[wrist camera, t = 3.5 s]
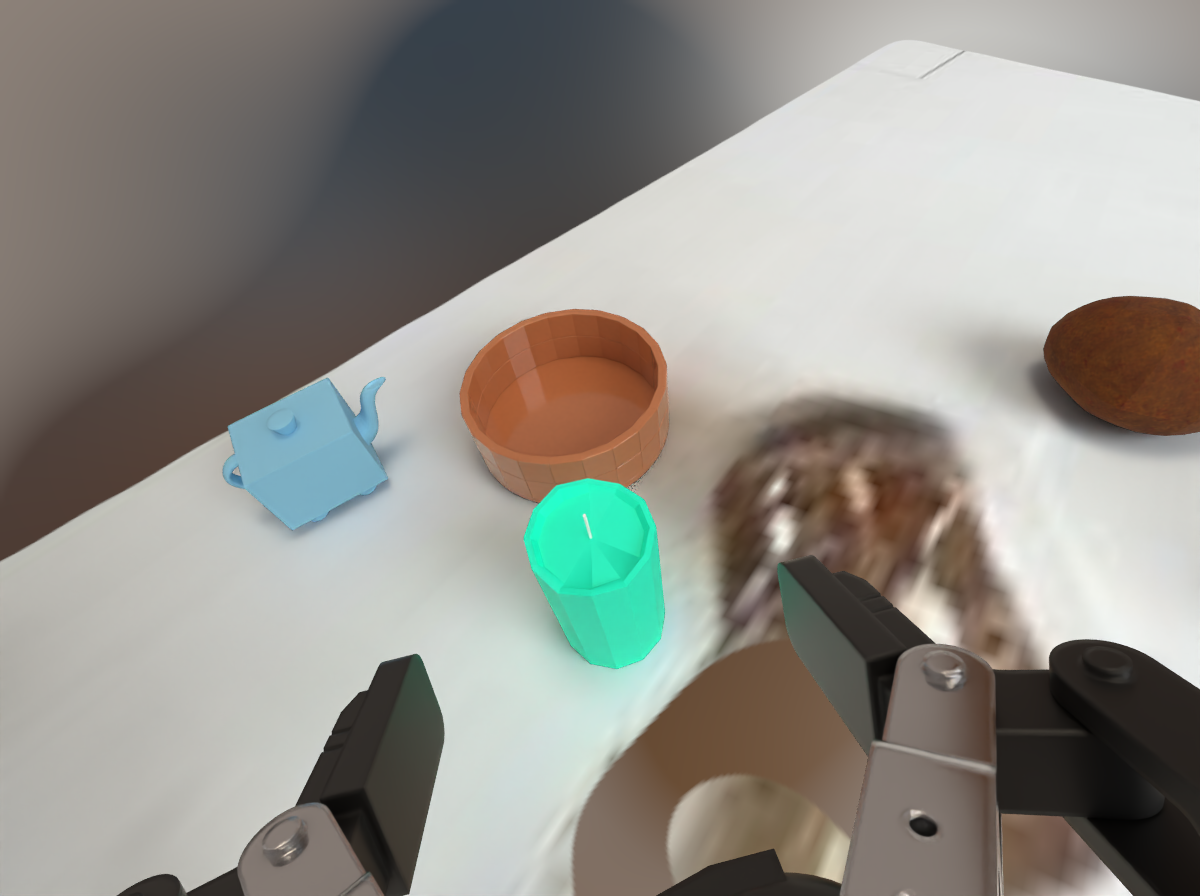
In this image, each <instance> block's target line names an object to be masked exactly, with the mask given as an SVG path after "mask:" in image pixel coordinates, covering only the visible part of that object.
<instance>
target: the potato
mask: <svg viewBox="0 0 1200 896" xmlns="http://www.w3.org/2000/svg"><path fill="white" fill-rule="evenodd" d="M1044 359H1045V361H1046V364H1047V367H1048V370H1049V372H1050V373H1051V375H1052V376H1053V378H1054V379H1055V380H1056V381H1057V382H1058V384H1059V385H1060V386H1061V387H1062V388H1063V389H1064V390H1065V391H1066V392H1067V393H1068V395H1069V396H1070V397H1071V398H1072V399H1073V400H1074V401H1075V402H1076V403H1078V404H1079V405H1080V406H1081V407H1082V408H1083V409H1084V410H1085V411H1087V412H1088V413H1090V414H1092V415H1094V416H1096V417H1098V418H1100V419H1102V420H1105V421H1107V422H1109V423H1112V424H1114V425H1116V426H1119V427H1122V428H1125V429H1128V430H1131V431H1134V432H1139V433H1146V434H1153V435H1163V436H1168V435H1185V434H1190V433H1196V432H1200V310H1199V309H1197V308H1196V307H1194V306H1192V305H1190V304H1187V303H1183V302H1179V301H1175V300H1170V299H1164V298H1153V297H1139V296H1123V297H1112V298H1107V299H1102V300H1098V301H1095V302H1092V303H1089V304H1087V305H1084V306H1082V307H1080V308H1078V309H1076V310H1074V311H1072V312H1070V313H1068V314H1066V315H1065V316H1064V317H1063V318H1062V319H1061V320H1059V321H1058V322H1057V323H1056V324H1055V325H1053V326H1052V328H1051V330H1050V332H1049V335H1048V337H1047V339H1046V342H1045V345H1044Z"/></svg>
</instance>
